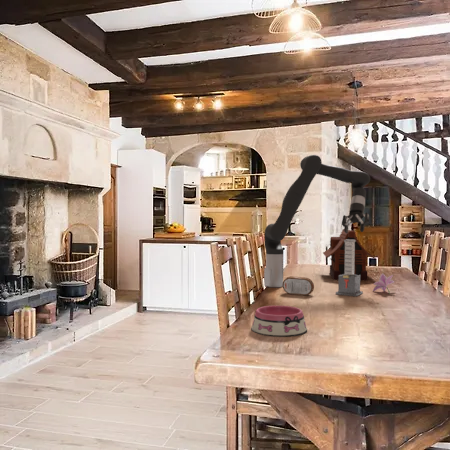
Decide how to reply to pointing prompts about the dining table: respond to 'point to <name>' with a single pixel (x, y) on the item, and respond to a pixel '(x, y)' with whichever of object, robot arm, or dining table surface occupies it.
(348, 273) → the column
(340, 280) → the stand housing
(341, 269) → the house
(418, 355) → the dining table surface
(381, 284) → the lily
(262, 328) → the dog bowl
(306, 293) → the tin
